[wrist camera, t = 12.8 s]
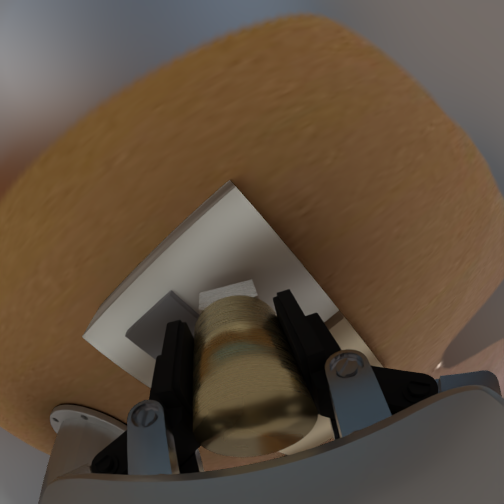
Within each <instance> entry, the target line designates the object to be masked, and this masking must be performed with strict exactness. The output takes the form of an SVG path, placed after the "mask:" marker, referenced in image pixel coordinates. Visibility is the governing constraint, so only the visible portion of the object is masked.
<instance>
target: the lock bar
mask: <svg viewBox="0 0 504 504" xmlns="http://www.w3.org/2000/svg"><path fill="white" fill-rule="evenodd" d="M199 312H200V315H199V317H198V319H197V321H196V324H195V329H194V354H193V435H194V437H195V439H196V441H197V442H198V443H199V444H200V445H201V446H203V447H204V448H206V449H208V450H209V451H212V452H214V453H217V454H221V455H226V456H233V457H253V456H261V455H266V454H270V453H274V452H277V451H280V450H283V449H285V448H287V447H289V446H291V445H293V444H295V443H297V442H298V441H300V440H301V439H303V438H304V437H305V436H306V435H307V434H309V432H310V431H311V430H312V429H313V428H314V426H315V424H316V422H317V419H318V411H317V408H316V406H315V403H314V401H313V399H312V396H311V394H310V392H309V389H308V387H307V385H306V383H305V381H304V379H303V376H302V374H301V372H300V369H299V367H298V365H297V362H296V360H295V357H294V355H293V353H292V350H291V348H290V346H289V343H288V341H287V339H286V336H285V334H284V332H283V329H282V327H281V325H280V322H279V320H278V317H277V315H276V313H275V311H274V310H273V309H272V308H271V307H270V306H269V305H268V304H267V303H265V302H264V301H262V300H260V299H259V298H258V295H257V292H256V289H255V286H254V283H253V281H252V279H251V280H247V281H244V282H240V283H236V284H232V285H228V286H225V287H221V288H217V289H213V290H209V291H205V292H201V293H200V296H199Z"/></svg>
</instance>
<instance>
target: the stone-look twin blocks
mask: <svg viewBox="0 0 504 504" xmlns="http://www.w3.org/2000/svg"><path fill="white" fill-rule="evenodd" d="M251 279H252V281H253V283H254V286H255V289H256V292H257V295H258V298H259V299H260V300H262V301H264V302H265V303H267V304H268V305H269V306H270V307H271V308H272V309H273V310H274V311H275V313H276V310H275V306H274V302H273V297H276V296H277V292H281V291H284V290H287V289H290V291H291V292H292V294H293V296H294V297H295V299H296V301H297V303H298V304H299V306H300V308H301V310H302V311H303V313H304V315H305V316H307V315H310V314H313V313H318V314H319V316H320V317H321V319H322V320H323V322H324V323H325V325H326V326H327V328H328V330H329V331H330V333H331V334H332V336H333V337H334V339H335V340H336V342H337V343H338V345H339V346H340V348H341V350H346V349H352V350H357V351H360V352H362V353H363V354H365V356H366V357H367V359H368V361H369V363H370V365H371V366H377V367H383V366H382V365H381V364H380V362H379V361H378V360H377V358H376V357H375V356H374V354H373V353H372V352H371V350H370V349H369V348H368V346H367V345H366V344H365V343H364V341H363V340H362V339H361V337H360V336H359V335H358V334H357V332H356V331H355V330H354V328H353V327H352V326H351V325H350V323H349V322H348V321H347V319H346V318H345V317H344V316H343V314H342V313H341V312H340V311H339V309H338V308H337V307H336V306H335V304H334V303H333V302H332V301H331V299H330V298H329V297H328V296H327V294H326V293H325V292H324V291H323V289H322V288H321V287H320V286H319V284H318V283H317V282H316V281H315V280H314V278H313V277H312V276H311V275H310V273H309V272H308V271H307V270H306V269H305V267H304V266H303V265H302V264H301V262H300V261H299V260H298V259H297V258H296V256H295V255H294V254H293V253H292V252H291V250H290V249H289V248H288V247H287V246H286V244H285V243H284V242H283V241H282V240H281V238H280V237H279V236H278V235H277V234H276V233H275V231H274V230H273V229H272V228H271V227H270V225H269V224H268V223H267V222H266V221H265V220H264V218H263V217H262V216H261V215H260V214H259V213H258V211H257V210H256V209H255V208H254V207H253V206H252V205H251V203H250V202H249V201H248V200H247V199H246V198H245V196H244V195H243V194H242V193H241V192H240V191H239V190H238V188H237V187H236V186H235V185H234V184H233V183H232V182H231V181H230V180H229V181H228V182H227V183H225V184H224V185H223V186H222V187H221V188H220V189H218V190H217V191H216V192H215V193H214V194H213V195H212V196H211V197H209V198H208V199H207V200H206V201H205V202H204V203H203V204H202V205H201V206H199V207H198V208H197V209H196V210H195V211H194V212H193V213H192V214H191V215H190V216H189V217H187V218H186V219H185V220H184V221H183V222H182V223H181V224H180V225H179V226H178V227H177V228H176V229H175V230H174V231H173V232H171V233H170V234H169V235H168V236H167V237H166V238H165V239H164V240H163V241H162V242H161V243H160V244H159V245H158V246H157V247H156V248H155V249H154V250H153V251H152V252H151V253H150V254H149V255H148V256H147V257H146V258H145V259H144V260H143V261H142V262H141V263H140V264H139V265H138V266H137V267H136V268H135V269H134V270H133V271H132V272H131V273H130V274H129V275H128V276H127V277H126V279H125V280H124V281H123V282H122V283H121V284H120V285H119V286H118V287H117V288H116V289H115V290H114V291H113V292H112V293H111V294H110V296H109V297H108V298H107V299H106V300H105V301H104V302H103V303H102V304H101V305H100V307H99V309H98V310H97V312H96V314H95V315H94V317H93V319H92V321H91V322H90V324H89V326H88V327H87V329H86V331H85V333H84V334H83V336H82V337H83V338H84V339H85V340H86V341H88V342H89V343H90V344H91V345H92V346H94V347H95V348H96V349H97V350H99V351H100V352H101V353H102V354H104V355H105V356H106V357H107V358H109V359H110V360H111V361H113V362H114V363H115V364H117V365H118V366H119V367H121V368H122V369H123V370H125V371H126V372H128V373H129V374H130V375H132V376H133V377H135V378H136V379H138V380H139V381H141V382H142V383H144V384H145V385H147V386H148V387H150V388H151V385H152V379H153V373H154V368H155V362H156V358H157V356H158V355H161V353H162V348H163V342H164V337H165V331H166V326H167V323H168V322H172V321H176V320H181V321H182V322H186V323H187V325H188V327H189V329H190V331H191V333H192V335H193V338H194V329H195V324H196V321H197V319H198V317H199V315H200V312H199V296H200V293H201V292H205V291H209V290H213V289H217V288H221V287H225V286H228V285H232V284H236V283H240V282H244V281H247V280H251ZM276 315H277V314H276ZM383 368H384V367H383ZM331 438H333V433H332V429H331V424H330V420H329V418H327V417H324V416H321V415H320V414H318V419H317V422H316V424H315V426H314V428H313V429H312V430H311V431H310V432H309V434H307V435H306V436H305V437H304V438H303V439H301V440H300V441H298V442H297V443H295V444H293V445H291V446H289V447H287V448H285V449H283V450H280V451H278V452H280V453H283V454H286V455H291V454H295V453H298V452H301V451H305V450H308V449H311V448H314V447H317V446H319V445H321V444H322V443H324V442H326V441H328V440H329V439H331Z"/></svg>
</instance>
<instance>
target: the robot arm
mask: <svg viewBox="0 0 504 504" xmlns="http://www.w3.org/2000/svg"><path fill="white" fill-rule="evenodd" d="M273 302H274V306H275V310H276V314H277V317H278V320H279V322H280V325H281V327H282V329H283V332H284V334H285V336H286V339H287V341H288V343H289V346H290V348H291V350H292V353H293V355H294V357H295V360H296V362H297V365H298V367H299V369H300V372H301V374H302V376H303V379H304V381H305V383H306V385H307V387H308V389H309V392H310V394H311V396H312V399H313V401H314V403H315V406H316V408H317V411H318V414H320V415H321V416H324V417H327V418H329V420H330V424H331V429H332V433H333V438H334V441H331V442H329V443H326V444H323V445H320V446H317V447H314V448H311V449H308V450H305V451H301V452H298V453H295V454H291V455H288V456H284V457H280V458H276V459H272V460H268V461H264V462H259V463H255V464H250V465H245V466H239V467H234V468H228V469H221V470H214V471H206V472H204V469H203V465H202V461H201V457H200V453H199V450H198V448H199V447H200V446H201V445H200V444H199V443H198V442H197V441H196V439H195V437H194V435H193V354H194V338H193V335H192V333H191V331H190V329H189V327H188V325H187V323H186V322H182V321H181V320H176V321H172V322H168V323H167V326H166V331H165V337H164V342H163V348H162V353H161V355H158V356H157V358H156V362H155V368H154V373H153V379H152V385H151V391H150V397H149V400H144V401H142V402H139V403H138V404H136V405H135V406H134V407H133V408H132V409H131V410H130V412H129V414H128V418H127V426H126V425H125V424H123V423H121V422H120V421H118V420H116V419H114V418H112V417H110V416H108V415H105V414H103V413H101V412H98V411H95V410H93V409H89V408H86V407H82V406H76V405H59V406H57V407H55V408H54V409H53V410H52V413H51V415H50V423H51V426H52V427H53V429H54V431H55V432H56V433H57V436H56V439H55V442H54V445H53V449H52V452H51V455H50V459H49V462H48V465H47V469H46V473H45V477H44V480H43V484H42V489H41V493H40V497H39V502H38V504H504V398H503V397H502V395H501V391H500V386H499V382H498V379H497V377H496V375H494V374H493V373H492V372H490V371H476V372H469V373H462V374H454V375H445V376H440V378H439V379H434V378H433V377H431V376H429V375H427V374H423V373H416V372H409V371H402V370H395V369H389V368H383V367H377V366H371V365H370V363H369V361H368V359H367V357H366V356H365V354H363V353H362V352H360V351H357V350H352V349H346V350H341V348H340V346H339V345H338V343H337V342H336V340H335V339H334V337H333V336H332V334H331V333H330V331H329V330H328V328H327V326H326V325H325V323H324V322H323V320H322V319H321V317H320V316H319V314H318V313H313V314H310V315H307V316H305V315H304V313H303V311H302V310H301V308H300V306H299V304H298V303H297V301H296V299H295V297H294V296H293V294H292V292H291V291H290V289H287V290H284V291H281V292H277V296H276V297H273Z"/></svg>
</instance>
